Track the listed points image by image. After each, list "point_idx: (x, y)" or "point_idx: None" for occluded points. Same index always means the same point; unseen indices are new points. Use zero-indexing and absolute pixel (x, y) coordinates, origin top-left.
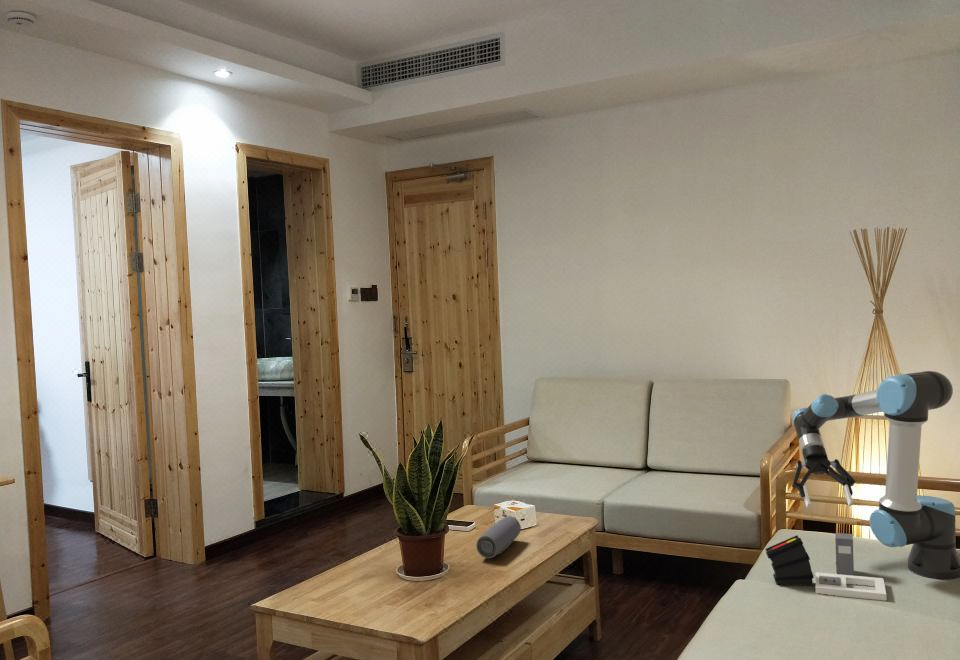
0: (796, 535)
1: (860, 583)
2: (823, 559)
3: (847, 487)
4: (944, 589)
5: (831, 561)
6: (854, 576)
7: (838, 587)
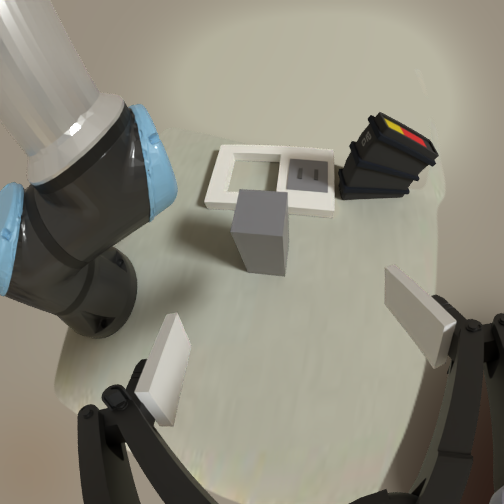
0: (389, 128)
1: None
2: (307, 336)
3: (145, 375)
4: None
5: (289, 325)
6: None
7: (294, 153)
